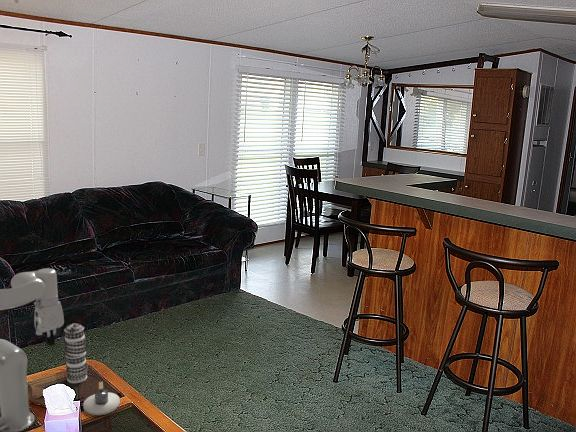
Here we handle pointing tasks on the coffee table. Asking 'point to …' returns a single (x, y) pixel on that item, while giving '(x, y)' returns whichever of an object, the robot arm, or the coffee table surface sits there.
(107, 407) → the white plate
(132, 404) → the coffee table surface
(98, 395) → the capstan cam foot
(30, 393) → the sunglasses case
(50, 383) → the coffee table surface
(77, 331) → the grey tall cylinder
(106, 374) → the coffee table surface
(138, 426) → the coffee table surface
